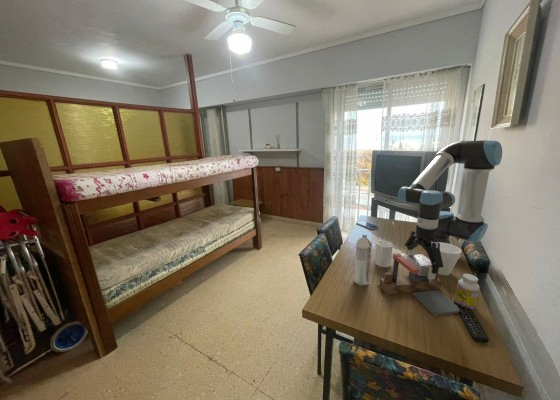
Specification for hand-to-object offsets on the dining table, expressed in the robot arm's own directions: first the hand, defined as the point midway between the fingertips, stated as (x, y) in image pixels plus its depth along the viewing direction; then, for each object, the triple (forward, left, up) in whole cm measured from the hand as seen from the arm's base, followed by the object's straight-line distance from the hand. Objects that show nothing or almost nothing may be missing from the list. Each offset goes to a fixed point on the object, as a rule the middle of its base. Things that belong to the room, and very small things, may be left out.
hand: (419, 269), depth 100 cm
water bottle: (+24, -7, -9) cm, 26 cm away
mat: (0, +11, -9) cm, 14 cm away
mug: (+6, -20, -9) cm, 23 cm away
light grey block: (0, 0, 0) cm, 0 cm away
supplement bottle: (-11, +13, -9) cm, 19 cm away
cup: (-20, -9, -9) cm, 24 cm away
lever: (+12, +5, +7) cm, 14 cm away
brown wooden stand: (+4, 0, -9) cm, 10 cm away
